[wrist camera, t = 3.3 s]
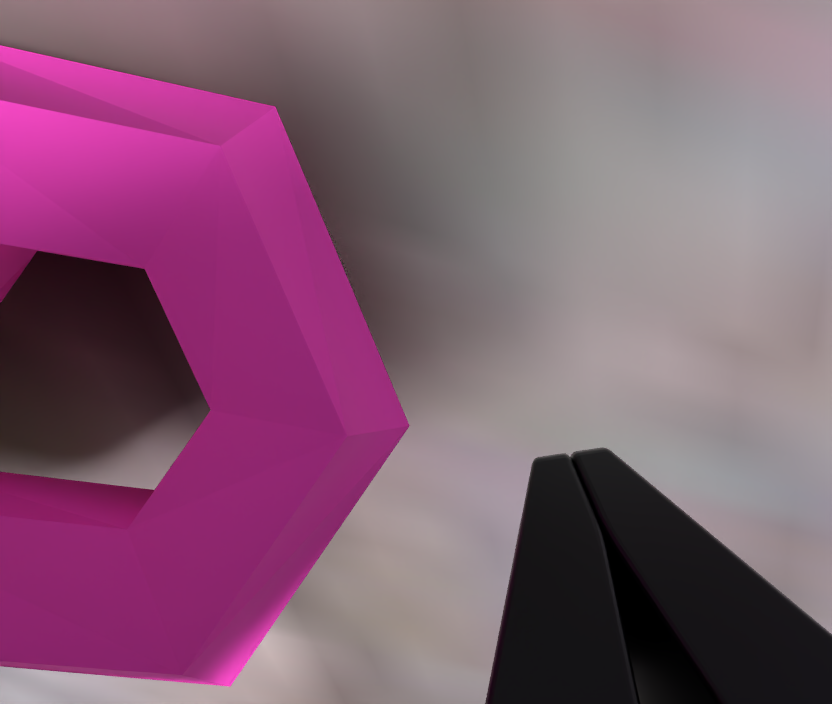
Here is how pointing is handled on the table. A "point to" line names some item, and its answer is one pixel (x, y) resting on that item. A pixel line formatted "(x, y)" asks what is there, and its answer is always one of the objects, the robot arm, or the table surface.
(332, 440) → the toy
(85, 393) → the table surface
